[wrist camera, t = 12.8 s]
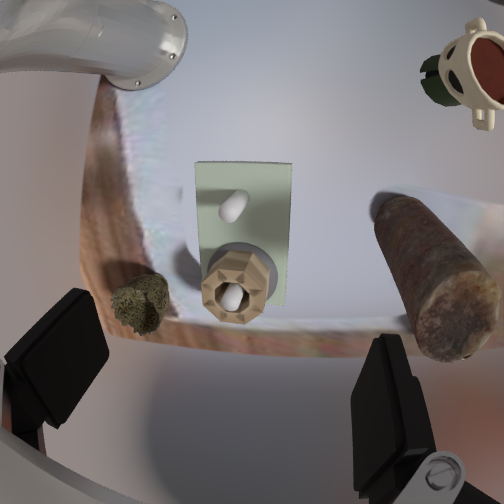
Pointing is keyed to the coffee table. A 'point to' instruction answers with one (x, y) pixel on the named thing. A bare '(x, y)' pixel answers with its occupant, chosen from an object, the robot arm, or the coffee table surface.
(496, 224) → the coffee table surface
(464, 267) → the brown log
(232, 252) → the collar
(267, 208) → the hub board
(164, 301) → the fiber plant pot
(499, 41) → the character mug
